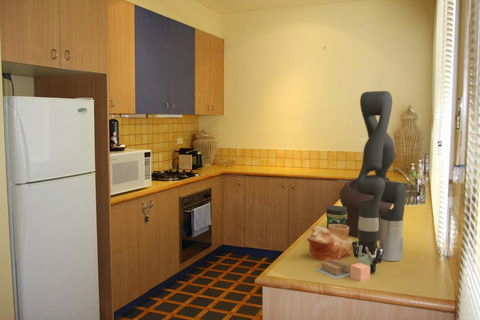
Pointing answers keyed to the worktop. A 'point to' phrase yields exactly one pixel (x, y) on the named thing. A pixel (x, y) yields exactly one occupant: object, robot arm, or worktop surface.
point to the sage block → (364, 260)
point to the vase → (357, 205)
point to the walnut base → (336, 267)
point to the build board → (331, 274)
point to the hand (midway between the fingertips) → (366, 270)
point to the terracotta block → (360, 272)
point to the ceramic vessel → (330, 242)
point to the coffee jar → (336, 215)
